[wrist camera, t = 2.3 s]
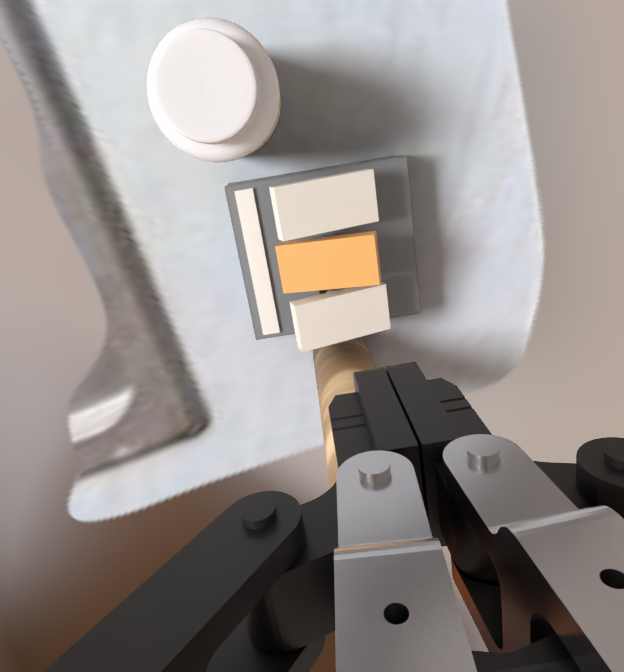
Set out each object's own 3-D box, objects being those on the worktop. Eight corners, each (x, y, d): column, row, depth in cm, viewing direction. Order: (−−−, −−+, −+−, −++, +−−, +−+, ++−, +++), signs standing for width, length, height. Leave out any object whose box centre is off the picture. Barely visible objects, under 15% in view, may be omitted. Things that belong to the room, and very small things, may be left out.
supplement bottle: (176, 48, 28) (120, -1, 18) (279, 49, 28) (278, 1, 19) (185, 158, 30) (138, 164, 20) (282, 157, 30) (280, 164, 21)
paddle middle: (281, 240, 28) (274, 246, 27) (376, 229, 27) (374, 234, 26) (290, 285, 29) (283, 293, 28) (382, 277, 28) (379, 284, 27)
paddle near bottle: (267, 186, 26) (273, 187, 25) (362, 168, 27) (373, 168, 26) (276, 237, 27) (283, 241, 26) (367, 218, 28) (378, 220, 27)
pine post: (309, 331, 34) (323, 448, 21) (363, 322, 34) (412, 434, 21) (317, 380, 35) (336, 520, 22) (369, 371, 35) (419, 507, 22)
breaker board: (229, 183, 31) (221, 188, 27) (397, 155, 30) (412, 157, 27) (258, 326, 34) (254, 348, 30) (410, 301, 34) (426, 320, 30)
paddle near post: (287, 300, 28) (294, 306, 27) (374, 278, 30) (385, 284, 28) (295, 343, 29) (302, 352, 28) (379, 321, 30) (390, 328, 29)
